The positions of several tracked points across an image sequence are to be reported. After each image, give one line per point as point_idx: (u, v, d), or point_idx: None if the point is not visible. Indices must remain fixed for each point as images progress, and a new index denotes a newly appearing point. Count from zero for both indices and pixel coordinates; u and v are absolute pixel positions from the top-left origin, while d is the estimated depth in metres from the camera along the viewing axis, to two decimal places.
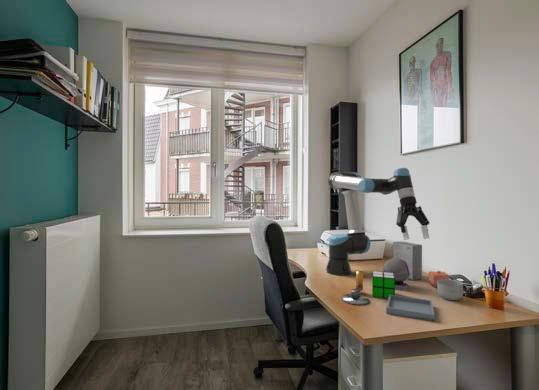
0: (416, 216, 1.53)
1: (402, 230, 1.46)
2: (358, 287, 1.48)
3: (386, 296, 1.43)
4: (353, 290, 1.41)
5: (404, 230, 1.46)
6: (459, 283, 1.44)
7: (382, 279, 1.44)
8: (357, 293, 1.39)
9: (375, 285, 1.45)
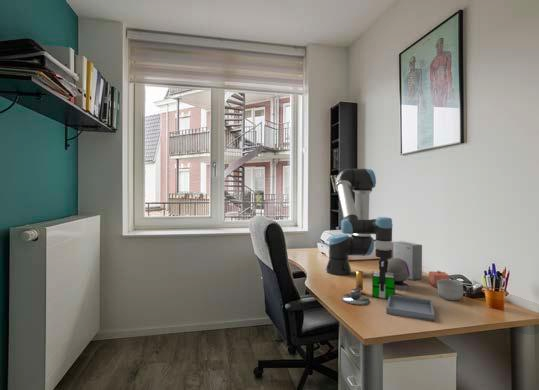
0: None
1: (382, 289, 1.42)
2: (358, 287, 1.48)
3: (386, 296, 1.43)
4: (353, 290, 1.41)
5: (383, 289, 1.42)
6: (459, 283, 1.44)
7: None
8: (357, 293, 1.39)
9: (375, 285, 1.45)
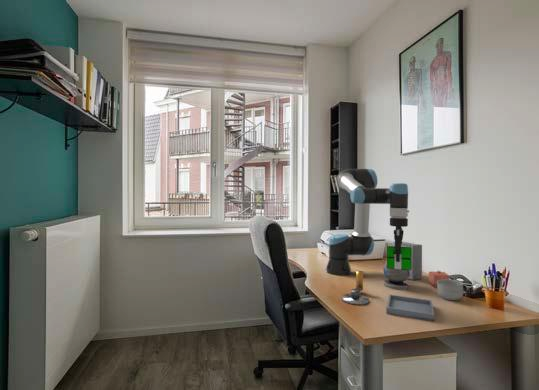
0: None
1: (397, 259, 1.31)
2: (358, 287, 1.48)
3: (402, 267, 1.32)
4: (353, 290, 1.41)
5: (399, 259, 1.31)
6: (459, 283, 1.44)
7: None
8: (357, 293, 1.39)
9: (390, 256, 1.34)
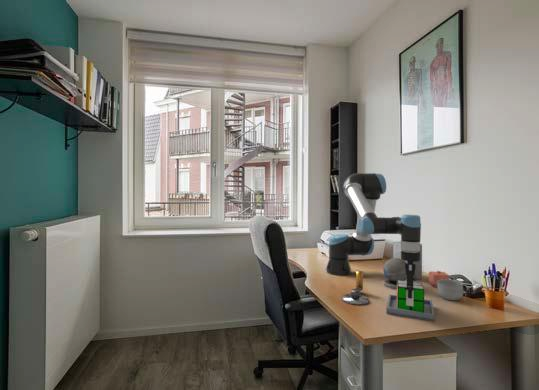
0: None
1: (410, 295, 1.22)
2: (358, 287, 1.48)
3: (414, 310, 1.25)
4: (353, 290, 1.41)
5: (411, 296, 1.23)
6: (459, 283, 1.44)
7: None
8: (357, 293, 1.39)
9: (401, 297, 1.27)
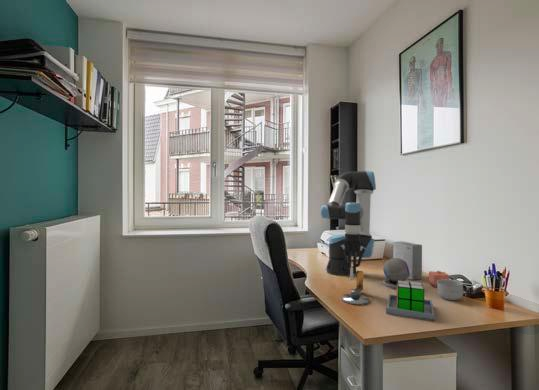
0: (350, 253, 1.53)
1: (355, 271, 1.52)
2: (358, 287, 1.48)
3: (414, 310, 1.25)
4: (353, 290, 1.41)
5: None
6: (459, 283, 1.44)
7: (409, 290, 1.26)
8: (357, 293, 1.39)
9: (401, 297, 1.27)
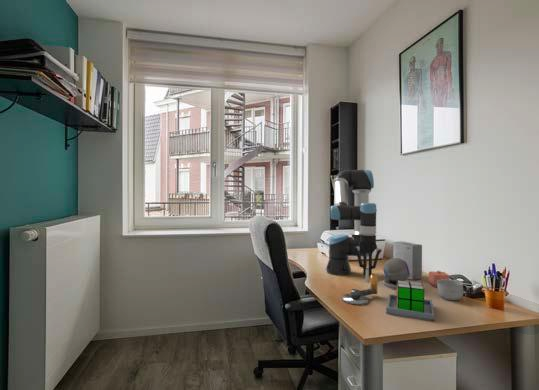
0: (366, 255, 1.50)
1: (371, 273, 1.49)
2: (368, 290, 1.45)
3: (414, 310, 1.25)
4: (353, 290, 1.41)
5: None
6: (459, 283, 1.44)
7: (409, 290, 1.26)
8: (354, 293, 1.39)
9: (401, 297, 1.27)
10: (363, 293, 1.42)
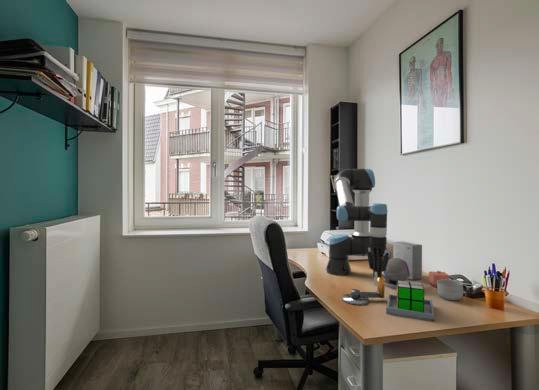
0: (376, 257, 1.45)
1: (380, 276, 1.43)
2: (373, 292, 1.41)
3: (414, 310, 1.25)
4: (354, 290, 1.41)
5: None
6: (459, 283, 1.44)
7: (409, 290, 1.26)
8: (352, 292, 1.39)
9: (401, 297, 1.27)
10: (364, 295, 1.40)
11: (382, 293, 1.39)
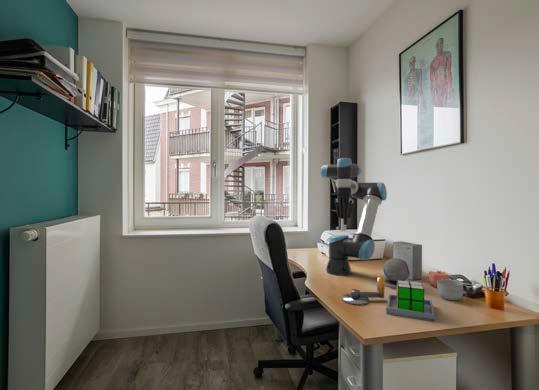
0: (342, 206, 1.64)
1: (346, 222, 1.62)
2: (373, 292, 1.41)
3: (414, 310, 1.25)
4: (354, 290, 1.41)
5: None
6: (459, 283, 1.44)
7: (409, 290, 1.26)
8: (352, 292, 1.39)
9: (401, 297, 1.27)
10: (364, 295, 1.40)
11: (382, 293, 1.40)
